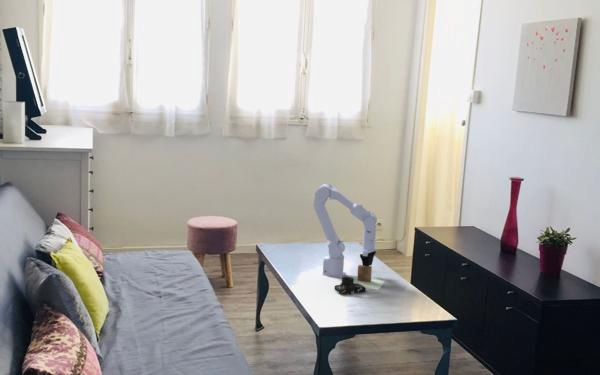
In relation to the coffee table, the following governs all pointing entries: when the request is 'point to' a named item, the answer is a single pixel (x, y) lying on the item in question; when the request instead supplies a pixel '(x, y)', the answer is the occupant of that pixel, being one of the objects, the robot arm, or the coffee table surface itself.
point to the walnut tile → (364, 273)
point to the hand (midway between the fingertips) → (367, 267)
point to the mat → (369, 283)
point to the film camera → (349, 286)
